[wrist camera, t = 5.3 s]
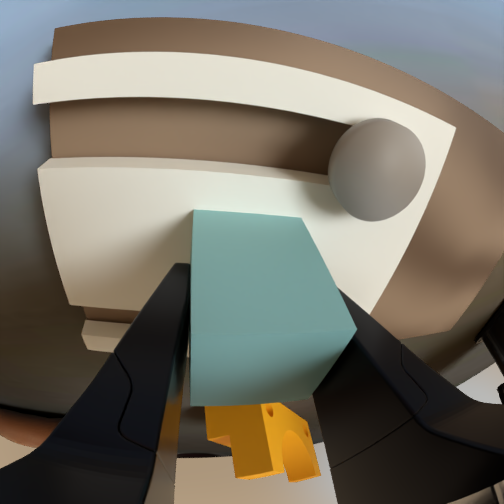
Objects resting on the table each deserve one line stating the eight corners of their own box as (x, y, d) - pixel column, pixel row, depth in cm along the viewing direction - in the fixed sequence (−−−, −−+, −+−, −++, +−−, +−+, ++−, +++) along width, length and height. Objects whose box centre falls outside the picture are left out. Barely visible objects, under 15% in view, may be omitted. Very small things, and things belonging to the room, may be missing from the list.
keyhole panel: (340, 338, 14) (373, 421, 10) (91, 335, 11) (73, 433, 8) (441, 120, 8) (551, 187, 4) (48, 61, 5) (-85, 100, 1)
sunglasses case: (30, 430, 24) (9, 457, 18) (7, 387, 23) (-20, 411, 17) (143, 442, 25) (129, 483, 19) (120, 392, 24) (97, 432, 18)
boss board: (442, 318, 18) (461, 349, 15) (101, 327, 13) (90, 378, 11) (529, 157, 10) (564, 182, 8) (72, 30, 5) (20, 26, 3)
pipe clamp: (204, 400, 19) (212, 481, 14) (256, 384, 19) (273, 470, 14) (268, 432, 27) (278, 486, 22) (306, 420, 26) (321, 475, 21)
